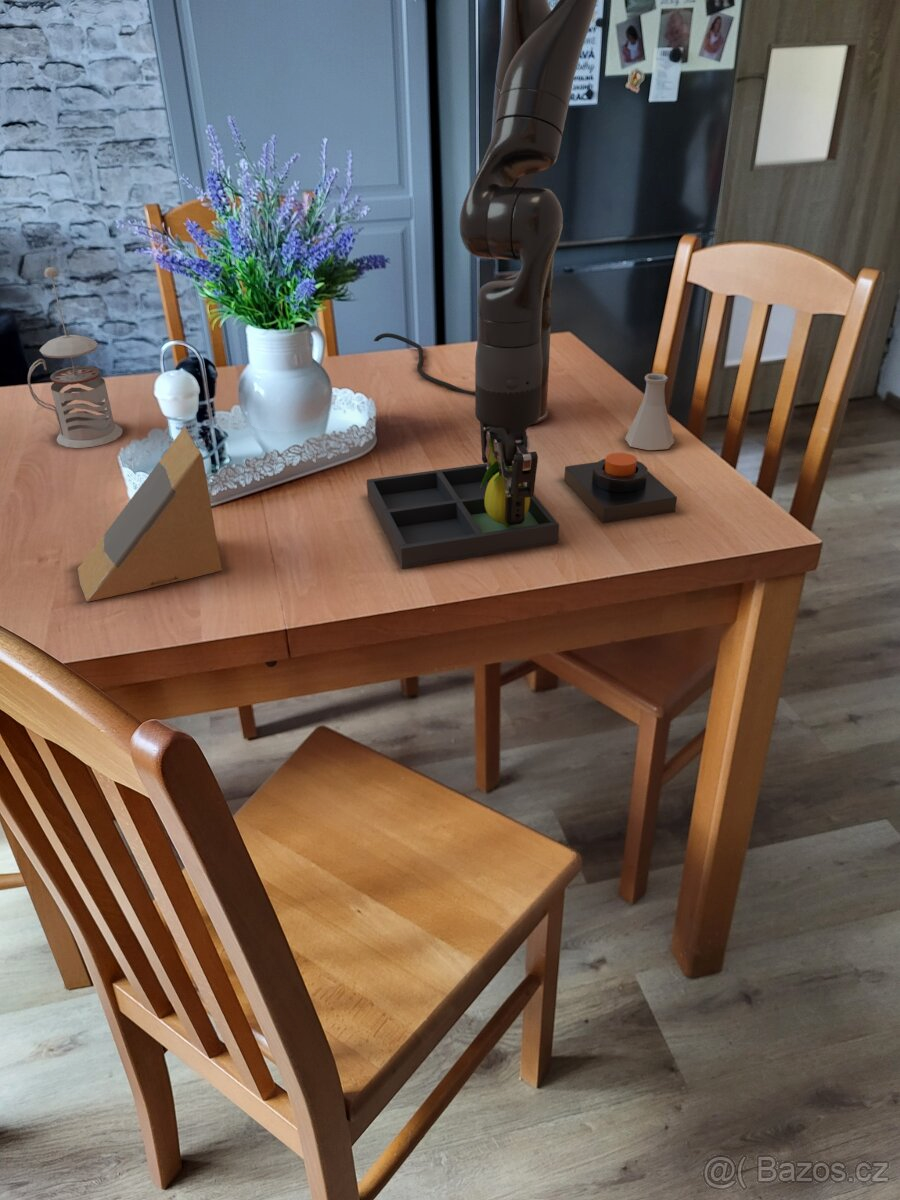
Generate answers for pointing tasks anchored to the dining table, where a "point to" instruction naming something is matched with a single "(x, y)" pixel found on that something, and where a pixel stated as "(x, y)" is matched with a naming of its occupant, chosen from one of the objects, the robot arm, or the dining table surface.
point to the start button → (620, 464)
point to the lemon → (497, 495)
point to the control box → (619, 492)
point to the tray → (451, 517)
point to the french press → (81, 424)
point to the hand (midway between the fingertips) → (506, 511)
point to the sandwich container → (158, 530)
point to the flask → (652, 418)
